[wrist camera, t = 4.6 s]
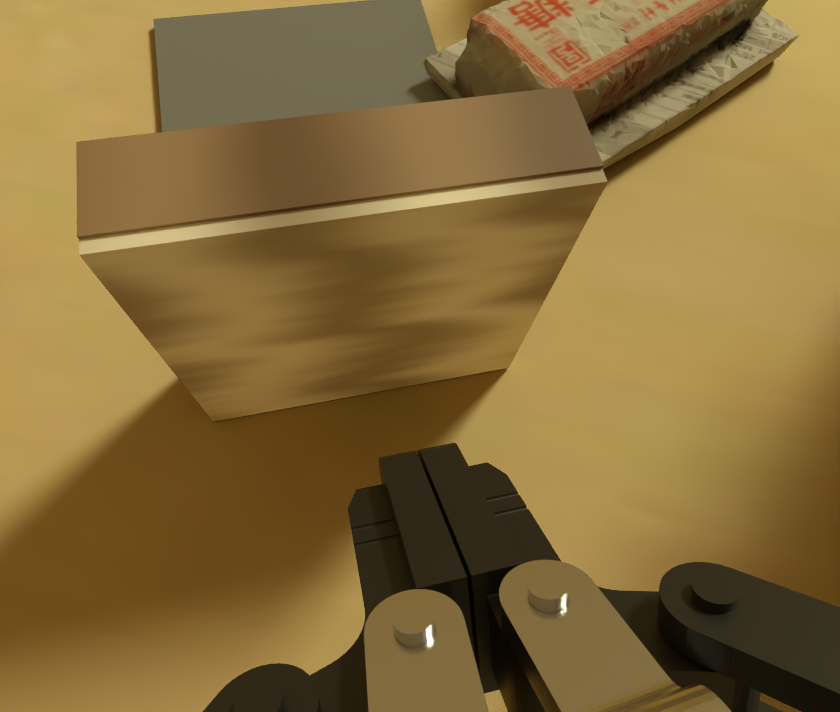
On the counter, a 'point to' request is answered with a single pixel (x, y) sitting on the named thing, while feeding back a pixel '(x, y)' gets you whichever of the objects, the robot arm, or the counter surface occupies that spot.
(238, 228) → the walnut tile
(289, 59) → the mat
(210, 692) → the counter surface
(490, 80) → the packaged product
